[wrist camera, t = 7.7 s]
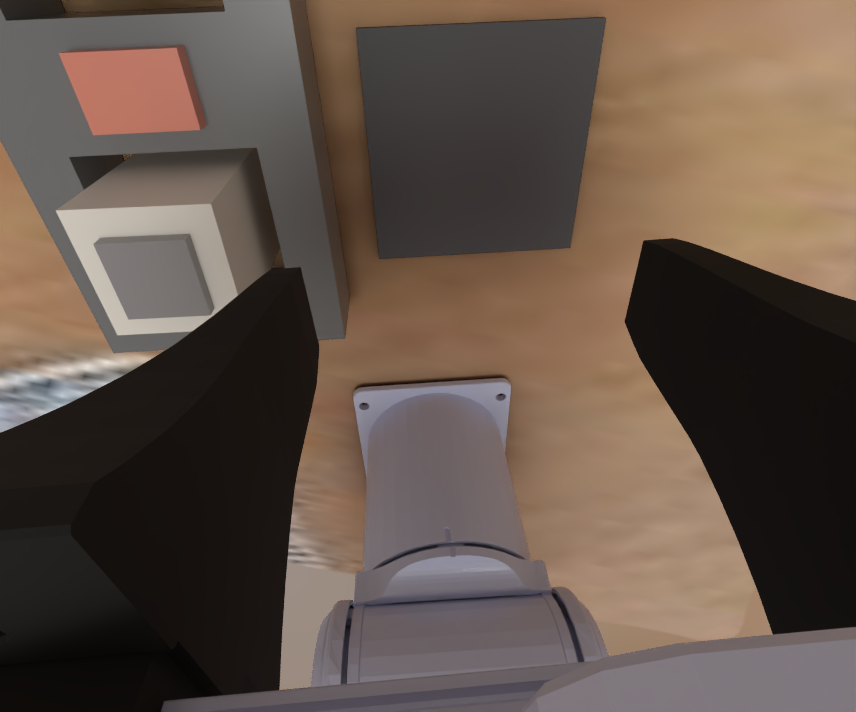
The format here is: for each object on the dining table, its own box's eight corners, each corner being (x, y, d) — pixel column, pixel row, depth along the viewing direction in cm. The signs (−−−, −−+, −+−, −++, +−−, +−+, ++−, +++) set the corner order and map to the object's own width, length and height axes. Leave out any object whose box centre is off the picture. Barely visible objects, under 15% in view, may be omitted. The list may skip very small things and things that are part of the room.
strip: (357, 352, 24) (350, 447, 19) (167, 364, 24) (112, 463, 19) (244, -405, 11) (135, -690, 6) (-180, -398, 11) (-633, -692, 6)
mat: (568, 245, 21) (570, 248, 21) (379, 255, 21) (379, 259, 21) (602, 17, 16) (606, 17, 16) (356, 28, 16) (356, 28, 16)
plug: (280, 245, 20) (244, 335, 15) (180, 249, 20) (111, 342, 15) (257, 142, 18) (206, 209, 13) (144, 146, 18) (47, 216, 13)
